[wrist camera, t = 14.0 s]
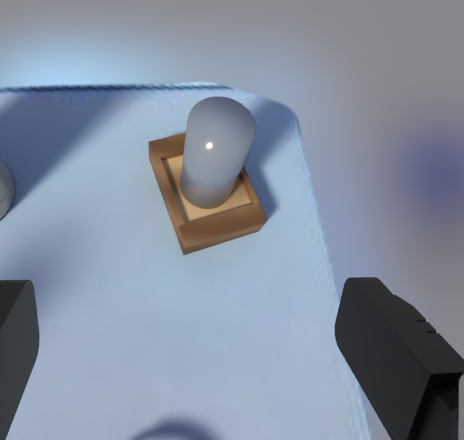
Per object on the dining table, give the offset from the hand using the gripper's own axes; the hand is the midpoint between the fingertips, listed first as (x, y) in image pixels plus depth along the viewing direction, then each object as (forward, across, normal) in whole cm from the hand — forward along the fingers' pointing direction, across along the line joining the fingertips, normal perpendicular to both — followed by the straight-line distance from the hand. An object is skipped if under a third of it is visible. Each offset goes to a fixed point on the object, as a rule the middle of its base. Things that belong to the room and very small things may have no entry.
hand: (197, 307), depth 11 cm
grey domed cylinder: (+32, -4, +8) cm, 33 cm away
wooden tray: (+34, -4, +9) cm, 35 cm away
